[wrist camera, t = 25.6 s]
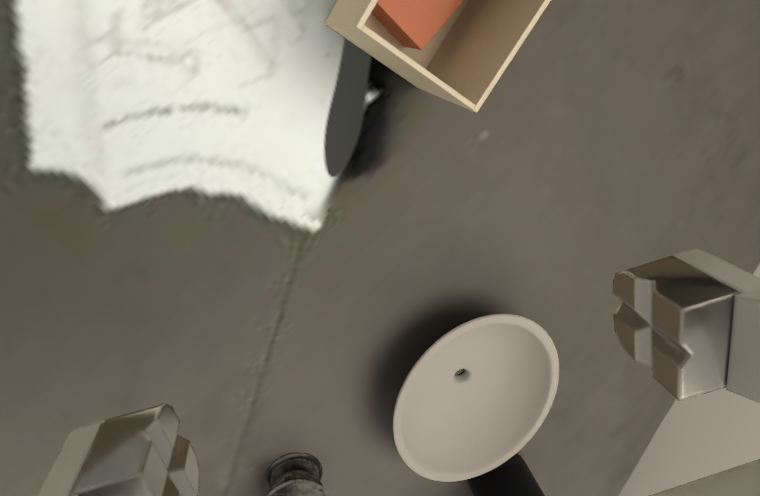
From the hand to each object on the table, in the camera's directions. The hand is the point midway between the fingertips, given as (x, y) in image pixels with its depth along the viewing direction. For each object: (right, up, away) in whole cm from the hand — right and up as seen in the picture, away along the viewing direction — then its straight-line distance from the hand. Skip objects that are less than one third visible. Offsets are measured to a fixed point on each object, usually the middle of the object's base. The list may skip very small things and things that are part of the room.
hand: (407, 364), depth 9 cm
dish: (+7, -9, +40) cm, 41 cm away
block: (+1, +19, +26) cm, 32 cm away
